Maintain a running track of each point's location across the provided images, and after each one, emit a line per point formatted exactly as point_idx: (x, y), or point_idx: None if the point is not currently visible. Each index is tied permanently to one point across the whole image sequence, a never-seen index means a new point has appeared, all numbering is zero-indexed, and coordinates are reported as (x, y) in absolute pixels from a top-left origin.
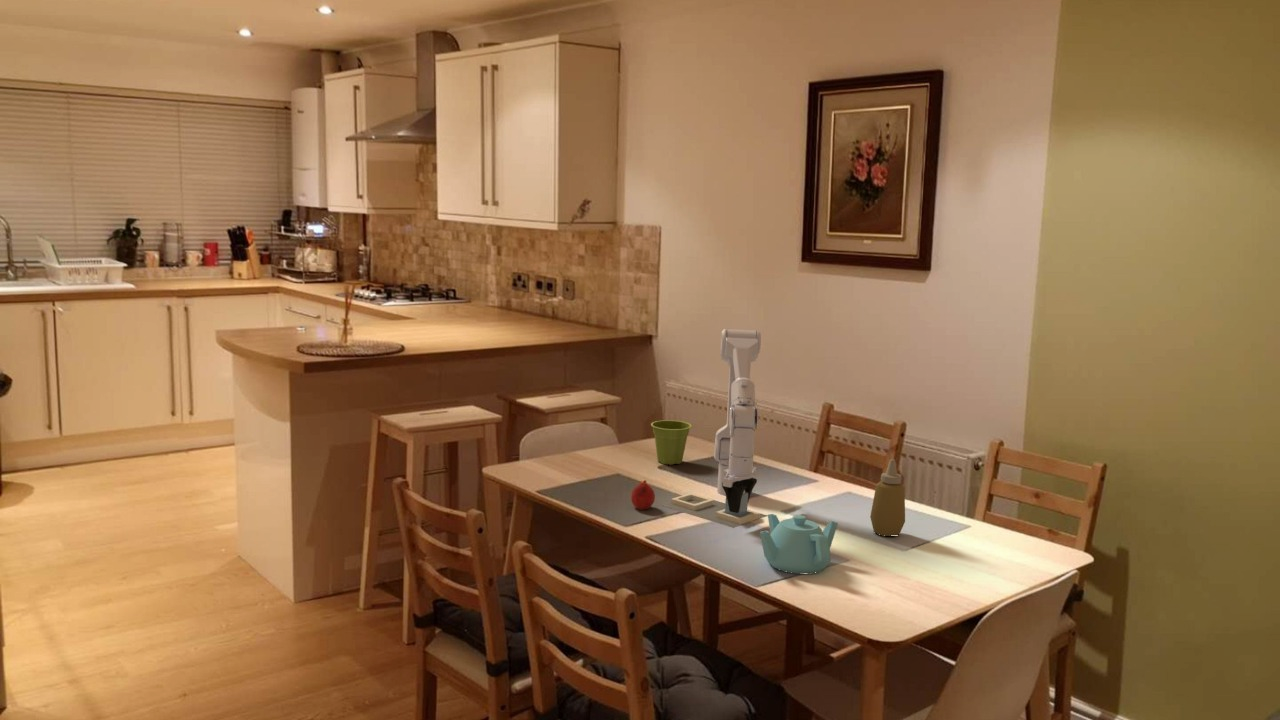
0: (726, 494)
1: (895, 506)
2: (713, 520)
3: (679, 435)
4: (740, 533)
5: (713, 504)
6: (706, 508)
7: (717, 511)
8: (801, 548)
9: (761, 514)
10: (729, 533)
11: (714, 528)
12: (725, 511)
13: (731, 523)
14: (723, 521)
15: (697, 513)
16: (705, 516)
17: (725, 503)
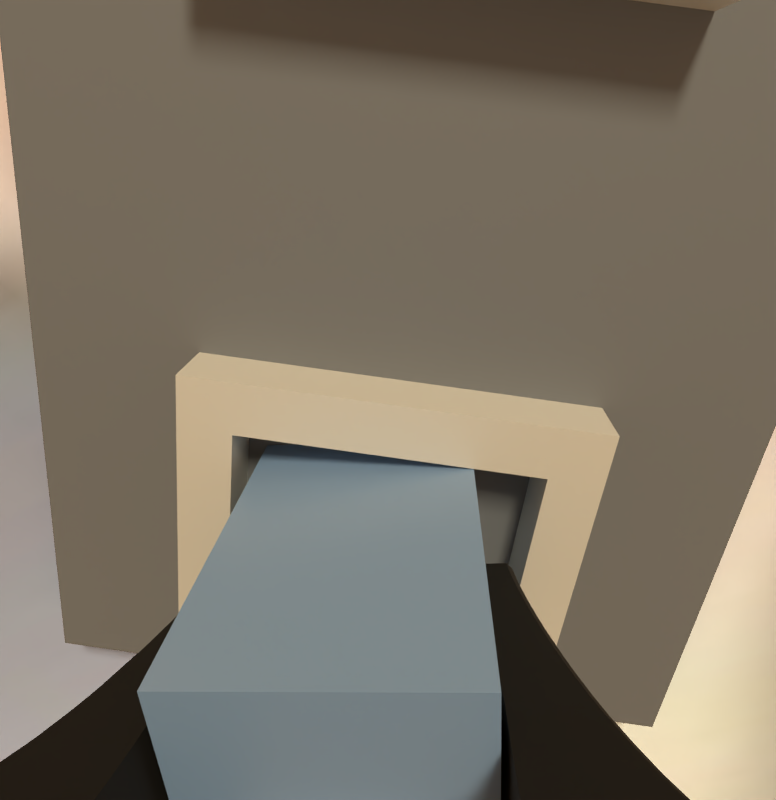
0: (16, 763)
1: None
2: (65, 406)
3: None
4: (105, 668)
5: (709, 9)
6: (436, 40)
7: (212, 384)
8: None
9: (647, 676)
10: (24, 608)
11: (11, 452)
12: (247, 491)
13: (149, 584)
14: (132, 501)
15: (118, 80)
16: (104, 251)
17: (212, 552)
